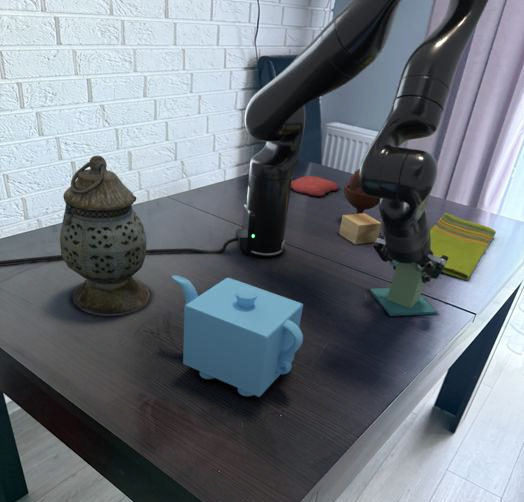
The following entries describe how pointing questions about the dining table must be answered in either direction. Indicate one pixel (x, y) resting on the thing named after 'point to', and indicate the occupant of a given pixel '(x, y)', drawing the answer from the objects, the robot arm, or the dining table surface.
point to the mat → (397, 310)
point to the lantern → (103, 241)
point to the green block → (405, 285)
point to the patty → (313, 186)
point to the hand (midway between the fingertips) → (413, 274)
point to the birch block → (359, 228)
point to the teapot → (240, 334)
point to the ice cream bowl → (358, 195)
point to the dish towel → (459, 244)
